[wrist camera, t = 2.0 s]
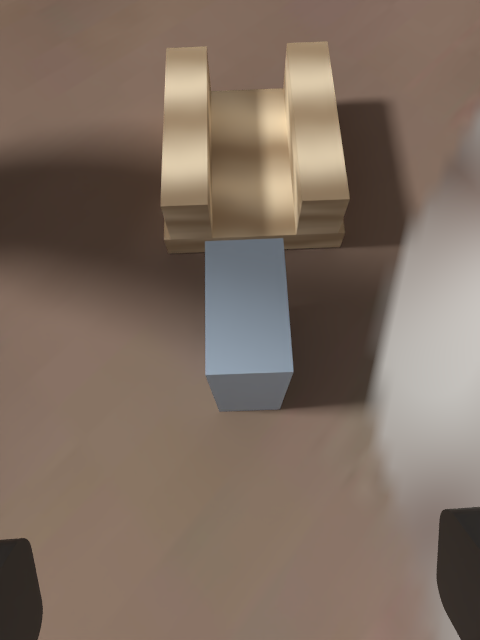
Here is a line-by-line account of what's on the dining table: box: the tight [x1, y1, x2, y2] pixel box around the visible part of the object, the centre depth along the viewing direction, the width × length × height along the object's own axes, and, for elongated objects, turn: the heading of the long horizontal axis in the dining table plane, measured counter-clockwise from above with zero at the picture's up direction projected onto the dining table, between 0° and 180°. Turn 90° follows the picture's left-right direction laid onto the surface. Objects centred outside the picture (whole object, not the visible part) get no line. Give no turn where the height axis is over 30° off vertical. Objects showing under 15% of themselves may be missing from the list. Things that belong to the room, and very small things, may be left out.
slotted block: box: [160, 42, 350, 254], centre depth 34 cm, size 14×13×6 cm
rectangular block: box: [205, 238, 293, 412], centre depth 26 cm, size 7×4×10 cm, turn 2°
